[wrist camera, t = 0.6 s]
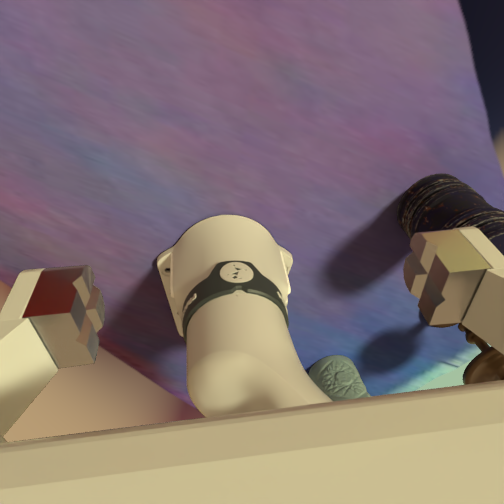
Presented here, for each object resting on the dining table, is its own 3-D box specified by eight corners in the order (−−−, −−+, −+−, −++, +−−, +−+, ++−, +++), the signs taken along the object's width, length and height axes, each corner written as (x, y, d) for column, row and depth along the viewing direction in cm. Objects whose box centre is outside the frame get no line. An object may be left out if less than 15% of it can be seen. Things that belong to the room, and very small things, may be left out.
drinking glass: (325, 395, 77) (346, 455, 67) (291, 374, 72) (308, 436, 62) (367, 366, 74) (396, 425, 64) (335, 342, 69) (360, 402, 59)
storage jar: (478, 178, 55) (563, 235, 42) (445, 239, 60) (512, 306, 47) (413, 167, 52) (484, 224, 40) (385, 232, 57) (439, 299, 45)
